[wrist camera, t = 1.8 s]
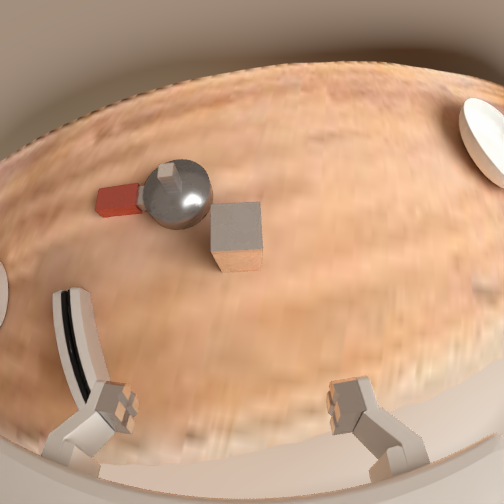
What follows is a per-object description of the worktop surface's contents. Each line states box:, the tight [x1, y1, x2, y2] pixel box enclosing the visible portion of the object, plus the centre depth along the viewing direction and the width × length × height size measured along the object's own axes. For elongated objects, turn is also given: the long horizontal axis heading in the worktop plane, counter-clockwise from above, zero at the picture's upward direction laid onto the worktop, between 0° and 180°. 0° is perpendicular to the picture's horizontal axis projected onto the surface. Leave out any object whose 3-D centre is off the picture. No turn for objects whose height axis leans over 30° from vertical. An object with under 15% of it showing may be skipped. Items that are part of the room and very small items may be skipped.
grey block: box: [211, 202, 263, 272], centre depth 31 cm, size 5×5×9 cm
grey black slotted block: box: [53, 287, 111, 410], centre depth 28 cm, size 17×5×10 cm, turn 18°
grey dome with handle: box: [95, 159, 213, 230], centre depth 34 cm, size 16×9×8 cm, turn 93°
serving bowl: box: [459, 98, 504, 189], centre depth 37 cm, size 21×21×7 cm
